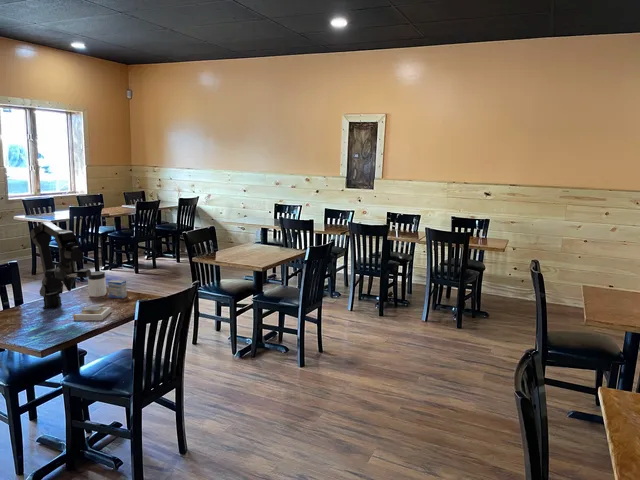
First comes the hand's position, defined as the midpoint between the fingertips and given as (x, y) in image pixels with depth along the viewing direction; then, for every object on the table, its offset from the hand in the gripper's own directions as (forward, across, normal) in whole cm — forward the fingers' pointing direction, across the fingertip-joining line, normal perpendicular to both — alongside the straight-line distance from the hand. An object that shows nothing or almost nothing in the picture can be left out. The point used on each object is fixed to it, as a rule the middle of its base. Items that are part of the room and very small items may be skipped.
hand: (69, 291), depth 218 cm
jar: (+12, -1, +33) cm, 35 cm away
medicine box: (+12, +11, +29) cm, 33 cm away
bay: (+12, +11, -1) cm, 16 cm away
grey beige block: (+12, +11, -2) cm, 16 cm away
